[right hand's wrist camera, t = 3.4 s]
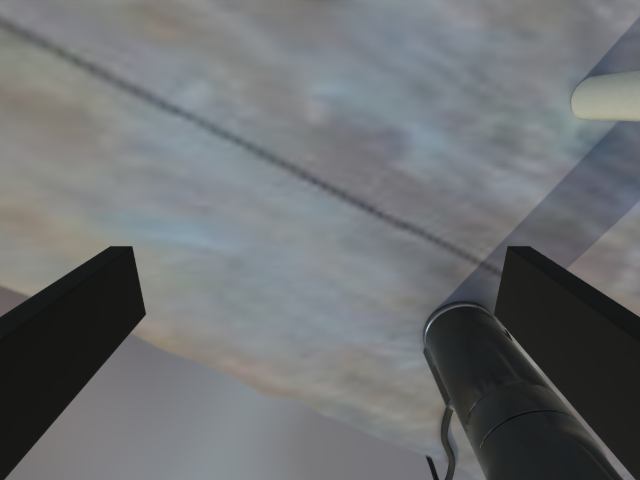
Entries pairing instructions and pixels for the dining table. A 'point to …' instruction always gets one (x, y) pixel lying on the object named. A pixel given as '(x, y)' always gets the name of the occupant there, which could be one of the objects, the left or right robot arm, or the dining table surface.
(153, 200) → the dining table surface
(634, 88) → the jar
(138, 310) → the right robot arm
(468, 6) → the dining table surface
